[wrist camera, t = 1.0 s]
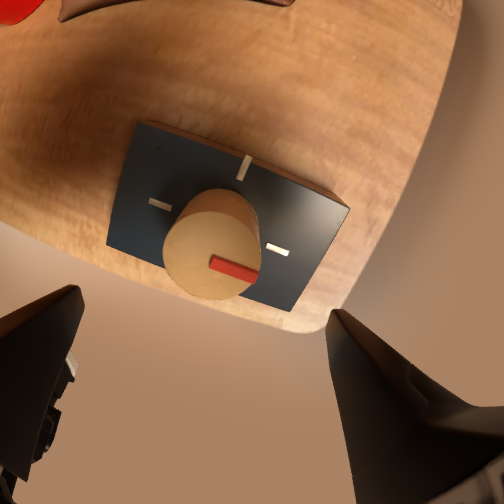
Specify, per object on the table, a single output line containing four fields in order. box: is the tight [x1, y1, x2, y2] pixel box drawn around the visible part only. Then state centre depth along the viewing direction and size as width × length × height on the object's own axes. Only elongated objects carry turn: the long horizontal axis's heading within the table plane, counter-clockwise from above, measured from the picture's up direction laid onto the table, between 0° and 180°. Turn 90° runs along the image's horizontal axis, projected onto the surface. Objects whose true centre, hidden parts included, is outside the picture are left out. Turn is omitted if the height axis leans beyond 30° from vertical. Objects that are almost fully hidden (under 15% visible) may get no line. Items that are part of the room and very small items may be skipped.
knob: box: [163, 189, 261, 300], centre depth 14 cm, size 4×4×4 cm
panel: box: [106, 121, 350, 312], centre depth 17 cm, size 13×9×3 cm, turn 67°
